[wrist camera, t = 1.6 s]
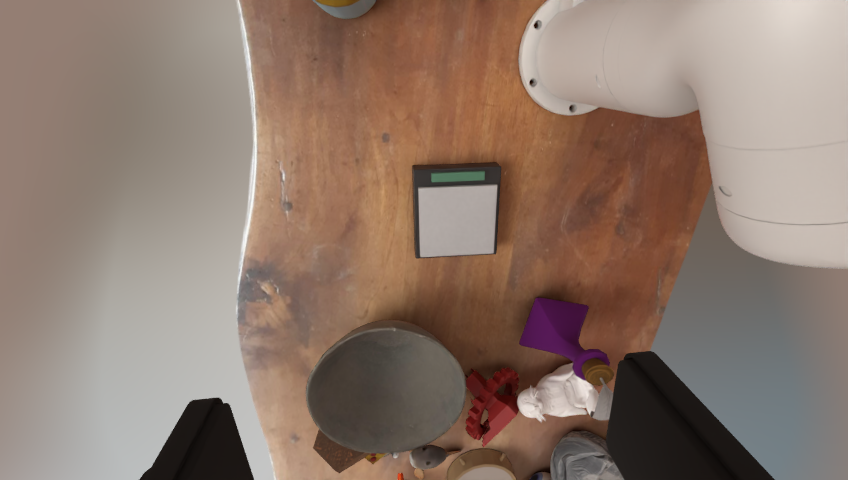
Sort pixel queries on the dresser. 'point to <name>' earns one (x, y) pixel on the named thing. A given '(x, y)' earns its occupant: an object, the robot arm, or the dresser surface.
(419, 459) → the fish
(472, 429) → the red toothed curved piece
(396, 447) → the bowl
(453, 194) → the scale
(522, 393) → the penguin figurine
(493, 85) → the dresser surface
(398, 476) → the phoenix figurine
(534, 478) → the eyeball
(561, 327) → the perfume bottle
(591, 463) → the decorative stone
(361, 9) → the bottle
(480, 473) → the alarm clock
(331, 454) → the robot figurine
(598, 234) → the dresser surface
